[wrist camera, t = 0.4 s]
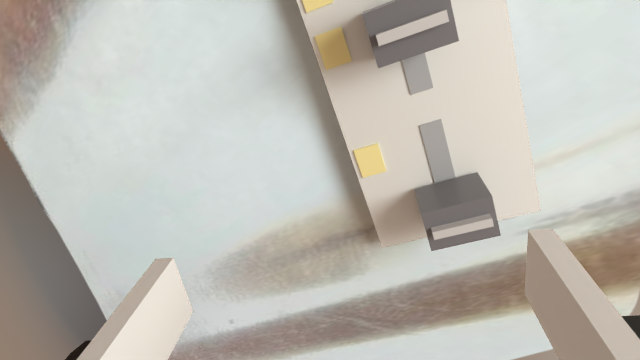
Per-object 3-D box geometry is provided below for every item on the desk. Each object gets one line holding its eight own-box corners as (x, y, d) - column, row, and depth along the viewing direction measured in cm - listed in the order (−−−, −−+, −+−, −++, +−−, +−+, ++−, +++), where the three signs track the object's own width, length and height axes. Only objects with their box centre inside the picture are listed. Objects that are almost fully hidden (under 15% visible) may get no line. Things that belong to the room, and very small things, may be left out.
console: (254, -134, 32) (246, -142, 30) (458, -235, 28) (465, -253, 26) (381, 237, 45) (382, 248, 43) (533, 201, 41) (541, 211, 39)
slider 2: (414, 188, 40) (421, 218, 34) (477, 172, 38) (494, 200, 33) (424, 222, 41) (432, 256, 36) (485, 208, 40) (503, 240, 34)
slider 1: (362, 11, 33) (362, 14, 28) (435, -16, 32) (448, -18, 27) (376, 59, 35) (378, 70, 30) (446, 34, 33) (461, 41, 28)
